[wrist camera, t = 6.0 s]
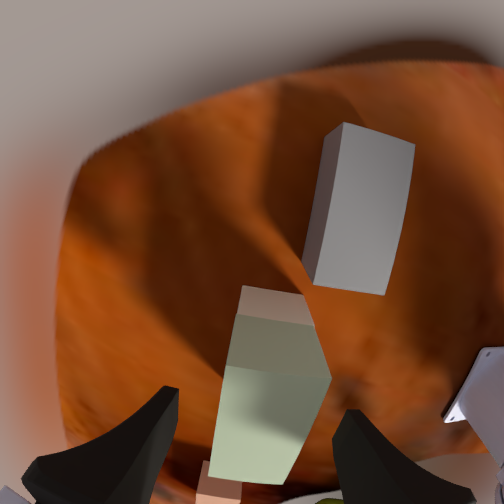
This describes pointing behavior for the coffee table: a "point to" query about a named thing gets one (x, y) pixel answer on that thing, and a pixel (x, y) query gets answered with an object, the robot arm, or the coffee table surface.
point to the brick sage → (267, 399)
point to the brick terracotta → (217, 489)
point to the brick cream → (274, 305)
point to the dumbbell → (330, 501)
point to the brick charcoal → (358, 209)
